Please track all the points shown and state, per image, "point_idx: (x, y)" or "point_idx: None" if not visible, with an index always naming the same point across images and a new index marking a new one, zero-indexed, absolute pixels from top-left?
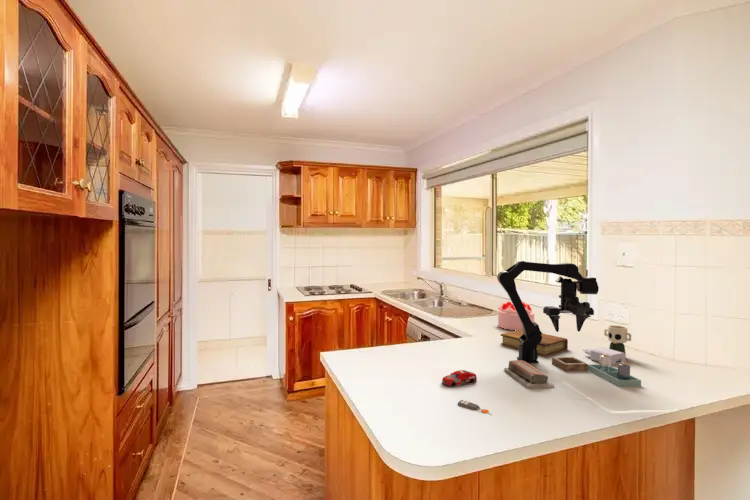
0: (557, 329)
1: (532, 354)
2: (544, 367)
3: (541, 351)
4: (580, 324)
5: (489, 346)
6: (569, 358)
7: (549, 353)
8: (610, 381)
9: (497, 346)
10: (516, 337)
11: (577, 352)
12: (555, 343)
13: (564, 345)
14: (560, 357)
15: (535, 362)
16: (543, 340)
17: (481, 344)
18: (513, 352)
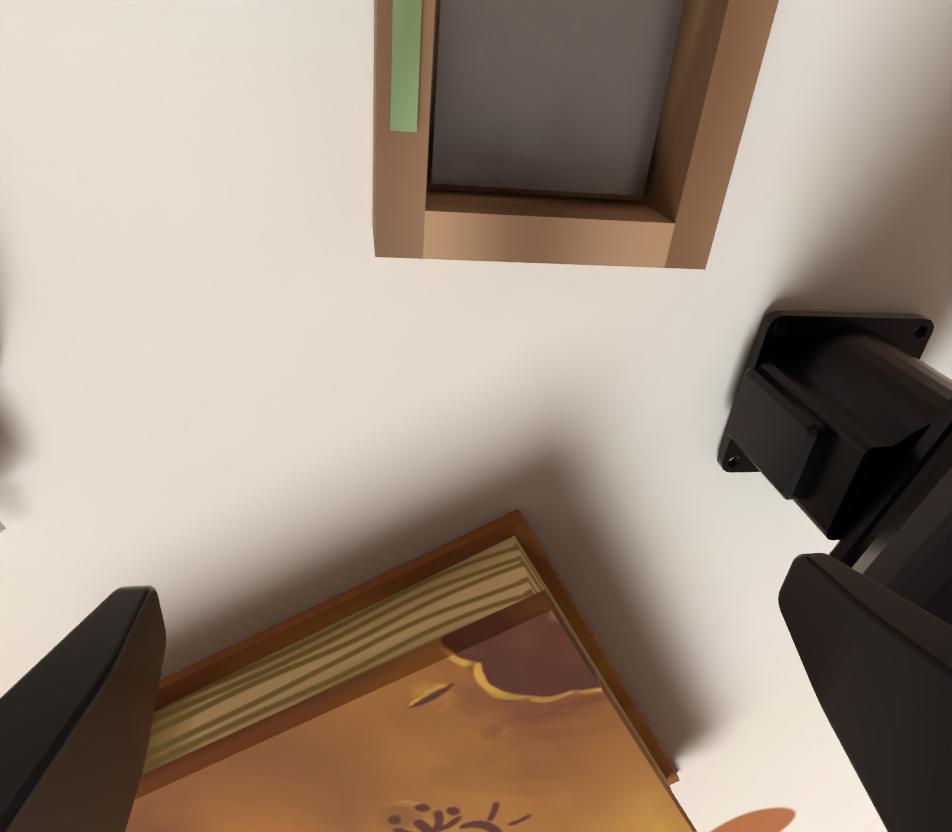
0: (888, 589)
1: (890, 366)
2: (835, 141)
3: (536, 577)
4: (15, 811)
5: (802, 726)
6: (467, 210)
7: (434, 567)
8: None
9: (742, 730)
10: (666, 802)
11: (48, 620)
12: (336, 689)
13: None
14: (597, 242)
15: (804, 312)
16: (452, 743)
17: (820, 759)
18: (739, 608)
